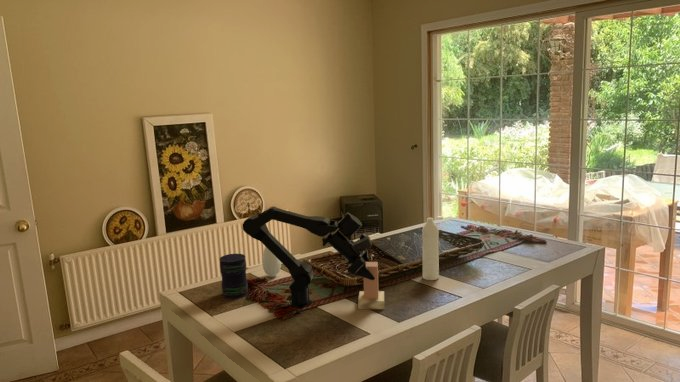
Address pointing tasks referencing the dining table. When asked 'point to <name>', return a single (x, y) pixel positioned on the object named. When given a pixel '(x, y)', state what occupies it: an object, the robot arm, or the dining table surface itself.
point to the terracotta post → (371, 282)
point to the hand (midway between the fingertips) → (374, 274)
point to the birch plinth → (371, 301)
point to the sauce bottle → (270, 263)
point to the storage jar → (233, 276)
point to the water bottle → (430, 250)
